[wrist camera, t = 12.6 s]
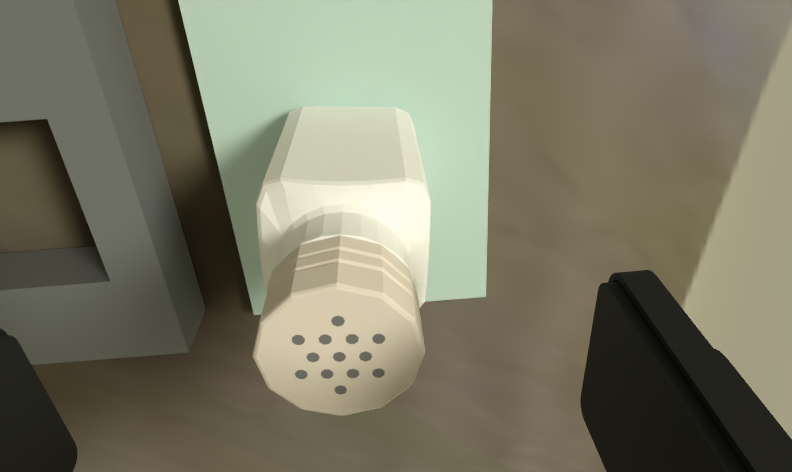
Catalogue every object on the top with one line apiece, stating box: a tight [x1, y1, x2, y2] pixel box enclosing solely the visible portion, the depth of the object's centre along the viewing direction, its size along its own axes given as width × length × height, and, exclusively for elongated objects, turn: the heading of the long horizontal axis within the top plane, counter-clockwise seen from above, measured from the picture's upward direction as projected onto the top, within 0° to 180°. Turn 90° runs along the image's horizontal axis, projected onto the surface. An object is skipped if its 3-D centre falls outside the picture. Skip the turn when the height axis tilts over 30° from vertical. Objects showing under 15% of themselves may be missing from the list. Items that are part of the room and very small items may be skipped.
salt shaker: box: [252, 107, 431, 416], centre depth 14 cm, size 4×4×10 cm
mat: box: [178, 0, 492, 315], centre depth 19 cm, size 12×9×1 cm
